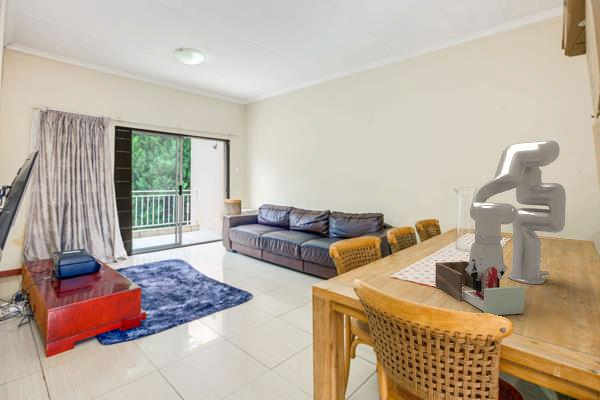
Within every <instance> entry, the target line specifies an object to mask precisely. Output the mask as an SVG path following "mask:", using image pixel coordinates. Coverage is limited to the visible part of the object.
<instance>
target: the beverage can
mask: <svg viewBox="0 0 600 400" xmlns="http://www.w3.org/2000/svg"><path fill="white" fill-rule="evenodd" d="M477 274H478V273H477ZM476 276H477V275H476ZM480 281H481V282H482V283H481V292H478V291H476V295H477V296H478V297H479V298H481V299H484V289H486V288H497V269H496V268H495V267H489V268H488V269H487V270H486V271H485V273H482V276H481V278H480Z"/></svg>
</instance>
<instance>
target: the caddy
mask: <svg viewBox="0 0 600 400" xmlns="http://www.w3.org/2000/svg"><path fill="white" fill-rule="evenodd" d="M468 265H469V260H465V261H464V260H460V261H444V262H435V277H434V278H435V279H434V280H435V282H434V284H435V285H436V286H437V287H436V286H435V287H436V288H438V287H439V288H440V289H439V288H438V289H439V290H441V291H442V292H444V293H446V294H448V295H449V296H451V297H452V298H454V299H456V300H457V301H459V302H463V299H462V295H463V285H462V284H466V285H467V286H466V285H465V286H466V287H468V288H470V289H472V290H474V289H473V278H471V276H470V275H469V274H468V273H467V272H466V271H465V269H466V268H467V267H468ZM473 271H474V270H472V272H473Z"/></svg>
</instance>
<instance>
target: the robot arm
mask: <svg viewBox="0 0 600 400" xmlns="http://www.w3.org/2000/svg"><path fill="white" fill-rule="evenodd" d="M560 151H561V150H560V146H559V143H558V142H557V141H555V140H553V139H551V140H549V139H548V140H540V141H538V140H537V141H529V142H527V141H526V142H518V143H513V144H509V145H508V146H506V148H505V149H504V150H503V151H502V153H501V156H500V159H499V162H498V164H497V167H496V170H495V175H494V177H493V178H492V179H490V180H489V181H487V182H486V183H485V184H483V185H482V186H481V187H480V188H478V190H477V191H476V192H475V193H474V196H473V199H472V201H471V204H470V209H469V216H470V218H471V219H472V220H473V221H474V223H475V224H474V242H472V245H471V247H470V252H469V259H468V262H469V265H468V267H467V268H466V269H465V271H466V272H467V273H468V274H469V275H470V276H471V278H473V289H472V290H476V291H478V292H481V283H482V282H481V281H480V278H481V276H482V273H485V271H486V270H487V269H488V268H489V267H495V268H496V269H497V288H501V287H500V286H501V281H500V280H502V278H503V276H504V275H505V273H506V272H507V271H508V270H509V267H508V266H507V265H506V264H505V263H504V259H505V258H504V251H503V245H502V244H501V240H503V236H502V235H501V234H502V232H501V230H502V227H501V226H502V225H510V224H512V225H511V226H512V232H513V233H512V239H513V240H512V263H511V264H512V266H511V267H512V268H511V270H512V271H511V272H509V273H507V278H509V280H513V281H515V282H519V283H522V284H529V285H543V284H544V283H545V278H543V276H549V275H550V271H548V270H542V269H541V255H542V253H541V251H542V241H541V238H540V237H539V235H538V234H537V233H536V232H543V233H556V234H557V233H561V232H563V230H564V229H565V226H566V204H567V203H566V201H567V199H566V198H567V197H566V190H565V187H564V186H563V185H562V184H560V183H559V182H558V183H557V182H542V170H541V167H547V166H549V165H550V164H552V163H553V162H555V161H557V159H558V157H559V156H560ZM513 189H515V199H516V202H517V203H518V204H520V205H523V206H541V207H542V206H543V207H547V208H536V207H519V208H517V207H515V206H514V205H513V204H510V203H503V202H489V201H488V199H489V200H490V198H491V197H494V196H496V195H497V194H502V193H503V192H507V191H512V190H513ZM487 201H488V202H487ZM472 270H474V271H473V272H472ZM477 273H478V274H477ZM476 275H477V276H476Z"/></svg>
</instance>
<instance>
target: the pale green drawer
mask: <svg viewBox="0 0 600 400" xmlns="http://www.w3.org/2000/svg"><path fill="white" fill-rule="evenodd" d="M525 291H526V288H525V287H524V286H523V285H521V286H520V285H519V286H504V287H500V288H486V289H484V299H481V298H479V297H478V296H477V295H476V290H474V289H472V290H462V300H464V301H466V302H467V303H468V304H470V305H472V306H474V307H475V308H477V309H479V310H481V311H483V314H484V313H490V314H495V315H494V316H503V315H516V314H517V315H518V314H524V313H525V295H526V294H525V293H526V292H525Z"/></svg>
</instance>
